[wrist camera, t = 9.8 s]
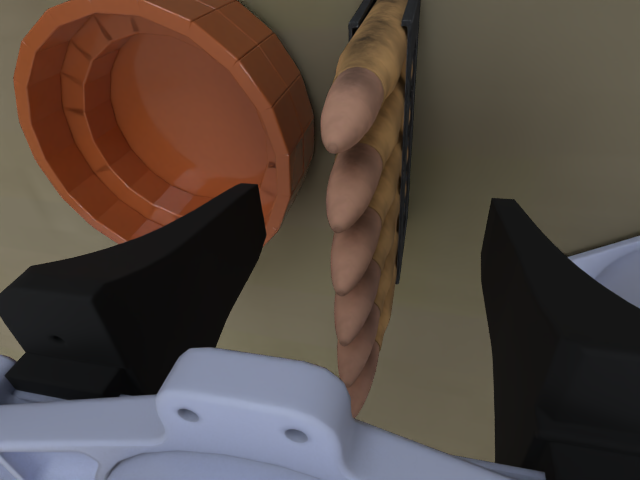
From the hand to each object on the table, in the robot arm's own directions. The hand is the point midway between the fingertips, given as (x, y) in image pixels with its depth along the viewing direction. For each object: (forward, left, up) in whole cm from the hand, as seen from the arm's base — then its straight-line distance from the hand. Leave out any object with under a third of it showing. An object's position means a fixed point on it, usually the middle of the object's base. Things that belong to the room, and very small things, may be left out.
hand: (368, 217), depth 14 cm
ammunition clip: (0, 0, -8) cm, 8 cm away
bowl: (+5, +8, -8) cm, 12 cm away
